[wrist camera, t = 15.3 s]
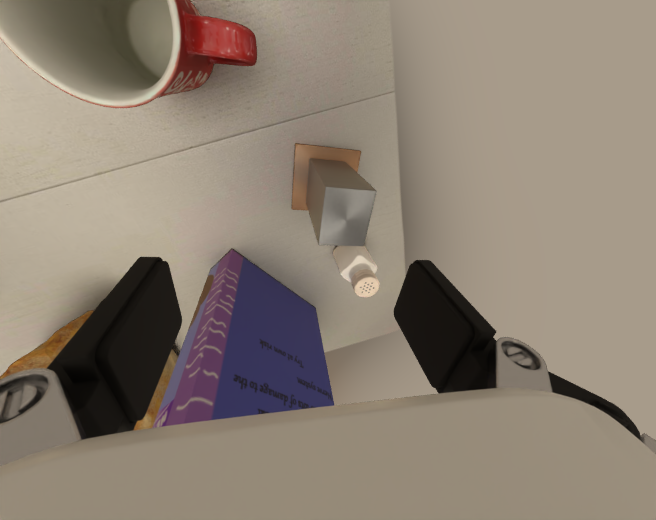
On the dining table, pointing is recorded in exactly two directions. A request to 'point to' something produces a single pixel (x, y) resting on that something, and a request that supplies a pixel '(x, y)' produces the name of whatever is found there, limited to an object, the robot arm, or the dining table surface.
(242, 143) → the dining table surface
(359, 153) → the plate
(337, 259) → the pepper shaker
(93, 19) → the mug
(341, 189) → the metal block
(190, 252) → the dining table surface
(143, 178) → the dining table surface
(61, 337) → the rough brown rock
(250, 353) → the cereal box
